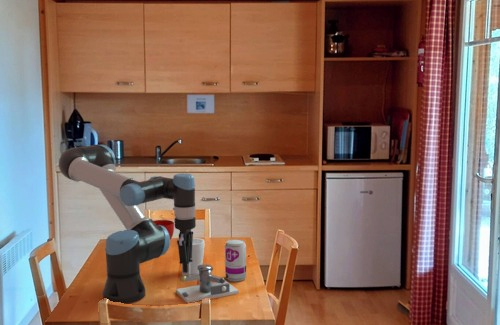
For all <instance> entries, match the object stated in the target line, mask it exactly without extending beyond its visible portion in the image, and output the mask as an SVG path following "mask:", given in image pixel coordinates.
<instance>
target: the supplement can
mask: <svg viewBox="0 0 500 325" xmlns="http://www.w3.org/2000/svg"><path fill="white" fill-rule="evenodd" d="M224 259H225V260H224V262H225V263H224V265H225V266H224V268H225V272H224V273H225V279H227V280H226V281H229V282H242V281H244V280H245V279H246V278H247V244H246V243H245V240H243V239H235V238H233V239H229V240H227V241H226V243H225V245H224Z"/></svg>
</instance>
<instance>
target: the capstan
mask: <svg viewBox="0 0 500 325" xmlns="http://www.w3.org/2000/svg"><path fill="white" fill-rule="evenodd" d="M197 269H198V270H199V274H195V275H188V276H182V275H181V276H179V278H180V279H179V281H180V282H181V283H186V282H191V281H192V282H194V281H198V285H199V286H200V292H203V293H207V292H211V286H212V284H211V283H212V282H217V283H221V284H223V283H224V282H225V281H226V278H224V277H221V276H217V275H214V274H212V272H213V270H214V267H213V266H212V265H211V264H207V263H204V264H203V263H202V265H199V266H198V267H197Z"/></svg>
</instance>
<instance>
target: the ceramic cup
mask: <svg viewBox="0 0 500 325" xmlns="http://www.w3.org/2000/svg"><path fill="white" fill-rule="evenodd" d="M153 222H154V223H155V224H156V225H161V226H164V227H165V228H166V229H167V231H168V233H169V236H170V241H171V239H172V237H174V236H173V235H174V232H175V221H174V220H173V221H172V220H169V219H156V220H153Z"/></svg>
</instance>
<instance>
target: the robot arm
mask: <svg viewBox="0 0 500 325" xmlns="http://www.w3.org/2000/svg"><path fill="white" fill-rule="evenodd" d="M116 162H117V161H116V156H115V153H114V151H113V150H112V149H111V147H109V146H108V145H106V144H105V145H104V144H92V145H86V146H79V147H78V146H77V147H76V146H75V147H71V148H68V149H67V150H65V151H64V152H62V154H60V157H59V160H58V168H59V169H58V170H59V171H60V173H61V174H62V175H63V176H64V177H65V178H66V179H68V180H70V181H73V182H76V183H77V182H83V183H85V184H87V185H89V186H92V187H94V188H97V189H98V190H100V192H101V193H102V195H103V196H104V198H105V200H106V201H107V202H108V204H109V205H110V207H111V208H112V210H113V211H114V213H115V214H116V216H117V218H118V219H119V221H120V222H121V223H122V225H123V226H124V228H125V229H124V230H119V231H115V232H113V233H111V234H109V235H108V236H107V238H106V240H105V247H104V248H105V260H106V280H105V283H104V288H103V291H102V299H103V298H107V299H109V300H110V301H113V302H121V303H127V304H131V303H135V302H138V301H141V300H142V299H144V298H145V297H146V287H145V284H144V282H143V279H142V276H141V271H140V270H141V269H140V265H141V264H143V263H146V262H149V261H151V260H154V259H158V258H160V257H161V256H163V255H166V254H167V252H168V251H169V249H170V247H171V246H170V244H171V240H170V236H169V233H168V231H167V229H166V228H165V227H164V226H161V225H156V224H155V223H154V222H153V221H154V220H153V219H152V218H150V217H146V215H145V214H144V213H143V211H142V209H141V208H140V207H139V205H142V204H145V203H149V202H153V201H158V200H162V199H167V200H173V208H172V211H173V213H174V220H173V222H174V229H176V230H178V231H179V233H178V240H177V241H176V244H177V248H178V256H179V264H181V272H182V273H181V274H182V275H181V276H188V275H190V262H192V261H193V260H191V258H192V242H193V238H194V231H192V230H194V229H195V228H196V226H197V224H196V217H195V216H196V183H195V176H194V175H193V174H191V173H177V174H174V175H173V177H172V178H171V177H164V176H161V175H160V176H157V175H155V176H151V177H150V178H149V179H148V180H143V181H137V180H135V179H132V178H129V177H127V176H125V175H122V174H120V173H117V172H116V168H117V167H116Z"/></svg>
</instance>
